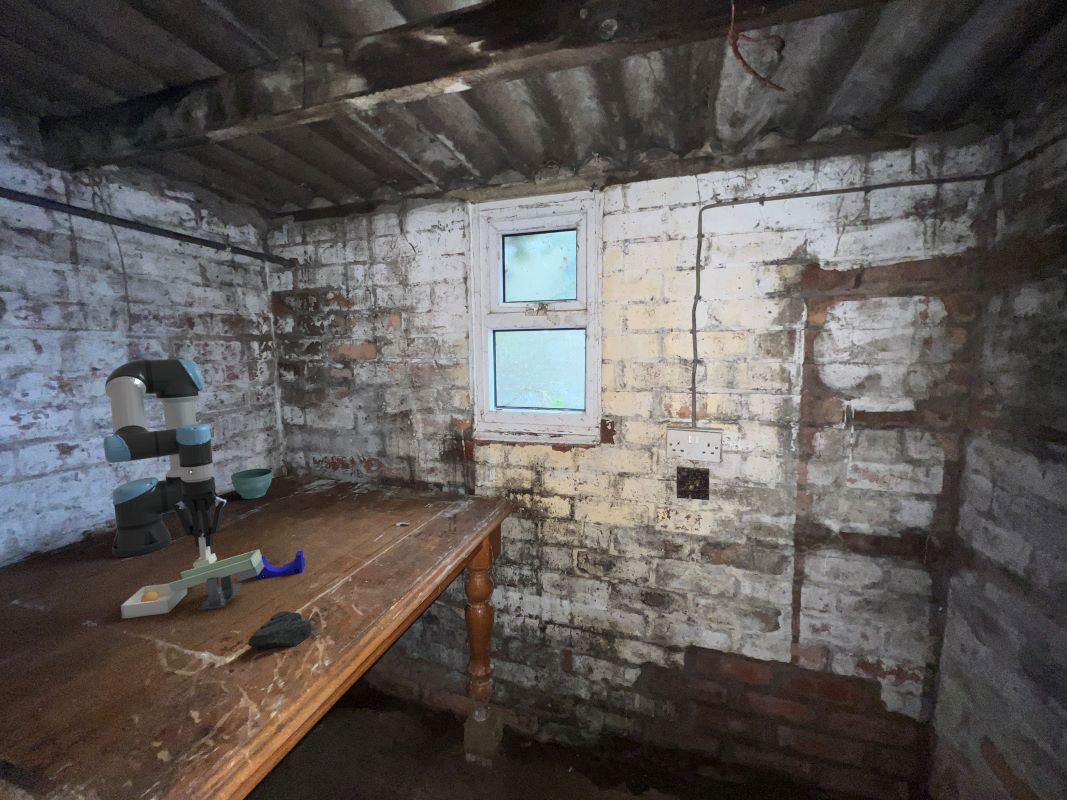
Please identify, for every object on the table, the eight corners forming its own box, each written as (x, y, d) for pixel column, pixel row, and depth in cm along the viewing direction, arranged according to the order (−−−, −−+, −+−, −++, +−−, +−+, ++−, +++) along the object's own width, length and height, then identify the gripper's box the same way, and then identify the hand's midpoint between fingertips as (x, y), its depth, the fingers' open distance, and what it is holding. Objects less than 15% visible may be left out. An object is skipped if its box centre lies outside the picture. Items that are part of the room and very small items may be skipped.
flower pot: (281, 493, 202) (279, 471, 201) (243, 504, 189) (241, 480, 187) (263, 487, 211) (261, 466, 209) (226, 497, 197) (223, 474, 196)
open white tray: (122, 618, 110) (120, 606, 110) (144, 598, 119) (143, 586, 119) (168, 612, 113) (167, 600, 112) (187, 593, 122) (186, 581, 121)
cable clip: (305, 566, 137) (303, 548, 136) (302, 573, 133) (300, 554, 132) (262, 572, 133) (260, 553, 132) (257, 579, 129) (256, 560, 128)
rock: (317, 632, 107) (283, 618, 108) (316, 616, 104) (282, 601, 106) (283, 670, 97) (246, 654, 99) (282, 653, 95) (245, 636, 97)
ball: (152, 608, 114) (136, 608, 113) (160, 601, 118) (145, 600, 117) (153, 596, 114) (138, 595, 113) (161, 588, 117) (146, 588, 116)
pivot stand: (198, 610, 114) (195, 583, 113) (218, 587, 124) (215, 563, 123) (224, 607, 115) (222, 580, 114) (241, 585, 126) (239, 560, 125)
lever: (175, 601, 114) (168, 584, 113) (202, 574, 128) (196, 558, 127) (257, 576, 118) (250, 559, 117) (274, 552, 132) (268, 537, 131)
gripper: (163, 484, 117) (172, 565, 120) (218, 480, 121) (225, 560, 123) (178, 476, 125) (186, 553, 127) (229, 473, 128) (236, 548, 131)
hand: (205, 556), depth 125 cm, fingers closed
